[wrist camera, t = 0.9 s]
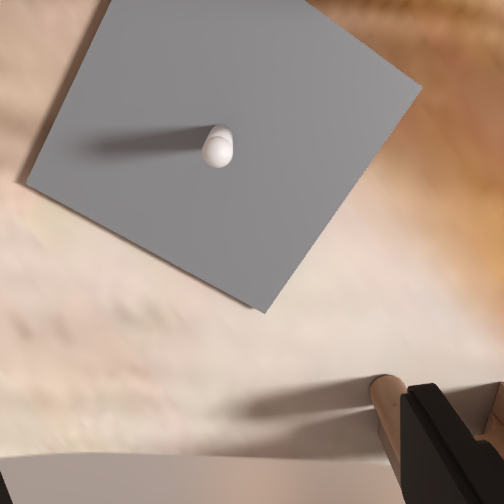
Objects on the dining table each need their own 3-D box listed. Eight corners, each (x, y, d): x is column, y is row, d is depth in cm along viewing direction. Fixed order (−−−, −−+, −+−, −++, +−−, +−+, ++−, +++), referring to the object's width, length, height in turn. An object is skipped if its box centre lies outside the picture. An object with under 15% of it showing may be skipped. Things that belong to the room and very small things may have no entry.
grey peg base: (163, -98, 28) (127, -200, 18) (416, 87, 32) (497, 86, 22) (32, 180, 33) (-52, 218, 23) (263, 307, 37) (275, 384, 27)
